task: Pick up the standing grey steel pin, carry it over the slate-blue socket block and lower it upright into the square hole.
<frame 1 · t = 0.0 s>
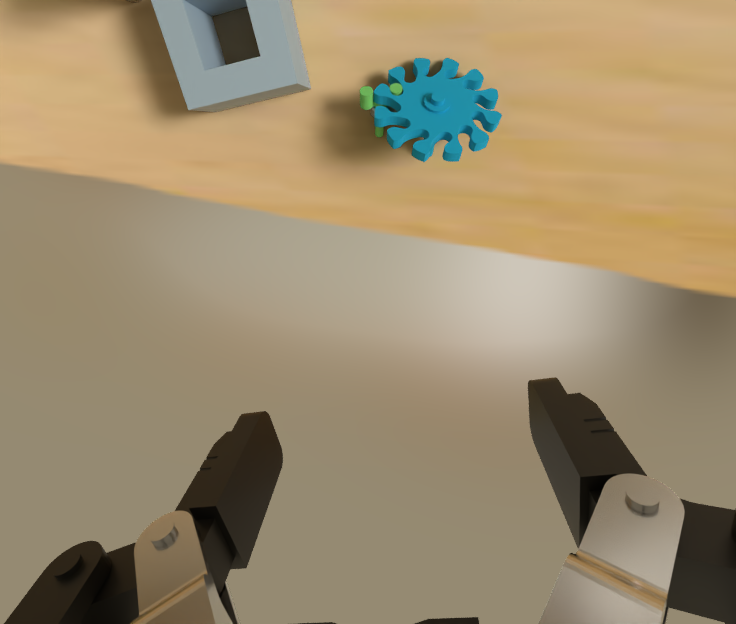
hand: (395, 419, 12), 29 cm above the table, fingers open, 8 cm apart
teal lobed toy: (426, 109, 35), on the table
socket block: (246, 41, 34), on the table
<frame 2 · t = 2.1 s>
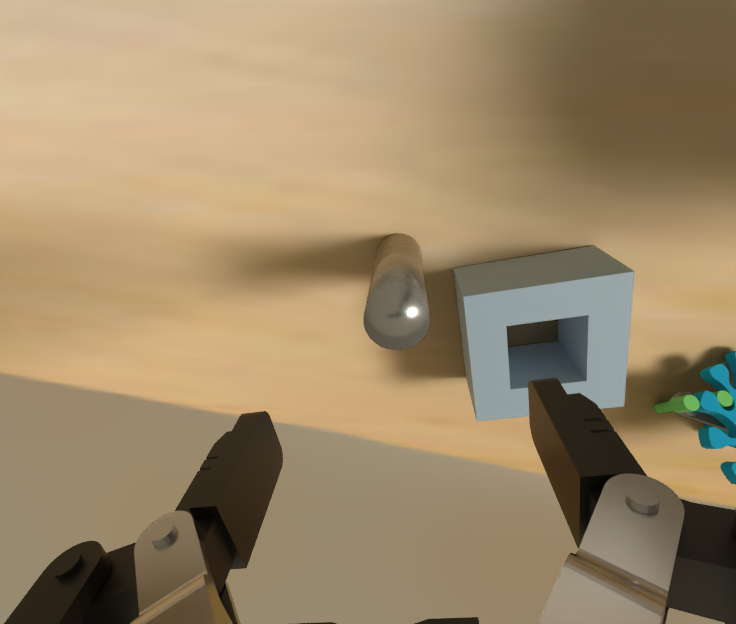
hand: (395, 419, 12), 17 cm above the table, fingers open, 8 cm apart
pin: (398, 255, 27), on the table
teal lobed toy: (720, 387, 30), on the table
socket block: (524, 317, 29), on the table
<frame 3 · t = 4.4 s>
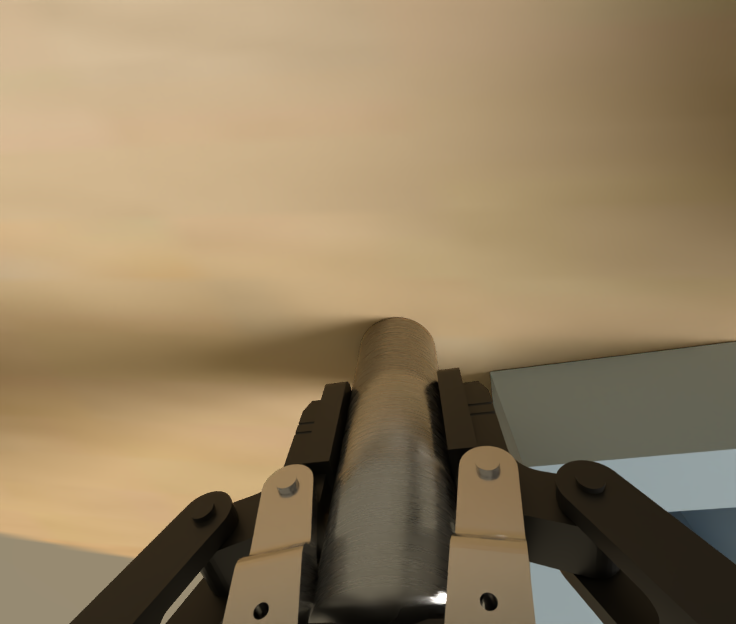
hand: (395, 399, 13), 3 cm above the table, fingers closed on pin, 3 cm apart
pin: (397, 351, 16), on the table, touching gripper
socket block: (605, 446, 17), on the table
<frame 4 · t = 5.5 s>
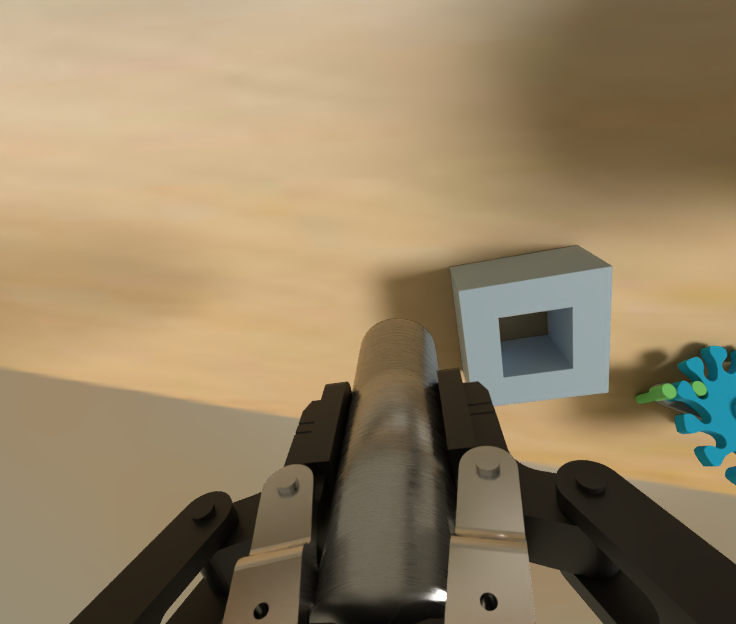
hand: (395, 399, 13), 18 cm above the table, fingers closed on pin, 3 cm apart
pin: (397, 352, 16), point 15 cm above the table, touching gripper
teal lobed toy: (696, 381, 32), on the table
socket block: (516, 312, 31), on the table
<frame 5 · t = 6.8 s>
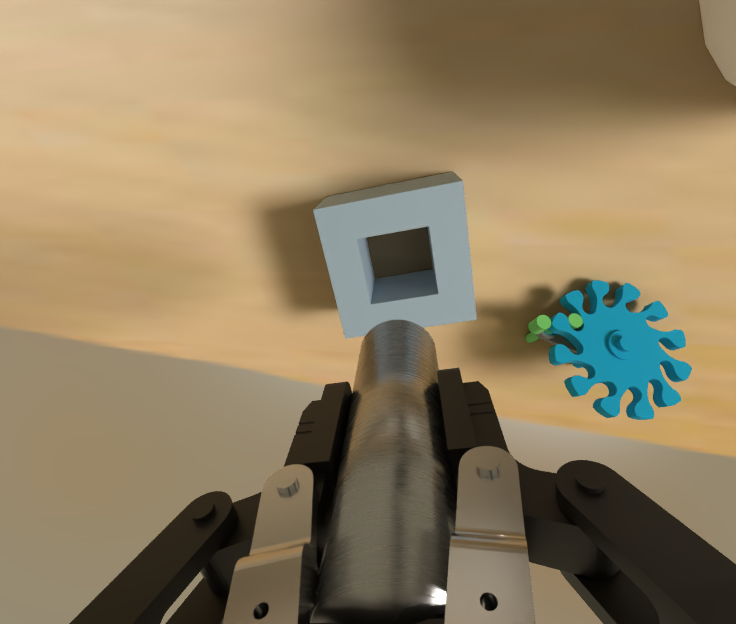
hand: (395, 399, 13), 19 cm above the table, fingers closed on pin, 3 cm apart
pin: (397, 353, 16), point 16 cm above the table, touching gripper
teal lobed toy: (586, 320, 32), on the table
socket block: (398, 245, 30), on the table
when the fingers open (6 cm above the table, at t = 8.8 s): pin drops 2 cm, resting in socket block.
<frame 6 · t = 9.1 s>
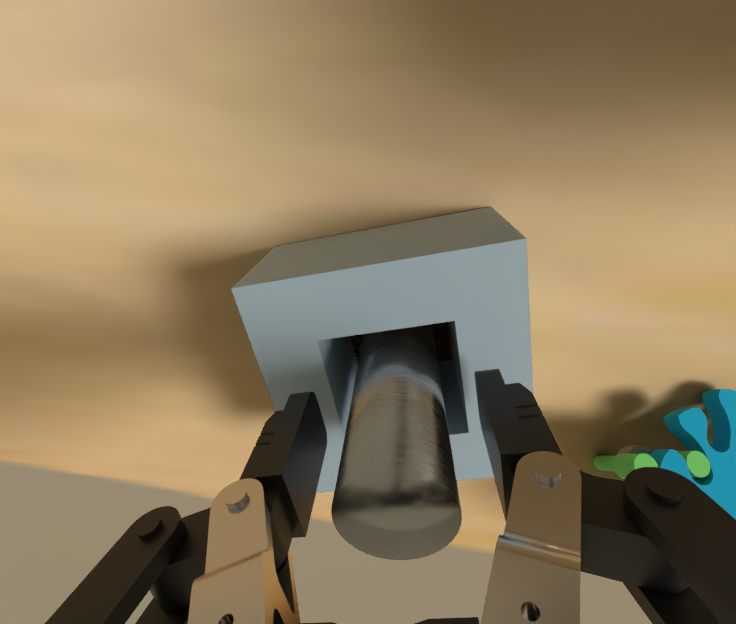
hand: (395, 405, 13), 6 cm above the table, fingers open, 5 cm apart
pin: (398, 325, 18), resting in socket block
teal lobed toy: (691, 440, 20), on the table
socket block: (397, 324, 18), on the table
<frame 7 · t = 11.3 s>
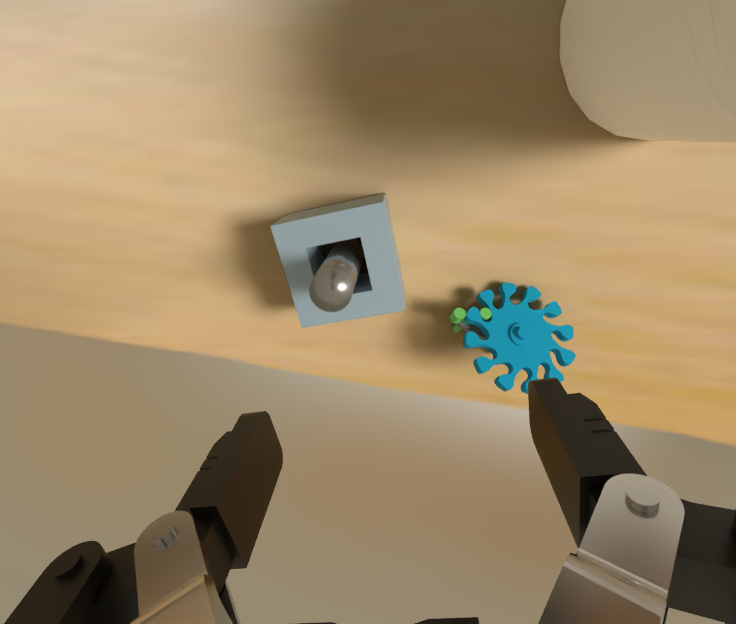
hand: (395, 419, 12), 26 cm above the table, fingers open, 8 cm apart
pin: (347, 253, 37), resting in socket block
teal lobed toy: (502, 316, 39), on the table
canister: (675, 17, 29), on the table
socket block: (347, 252, 37), on the table
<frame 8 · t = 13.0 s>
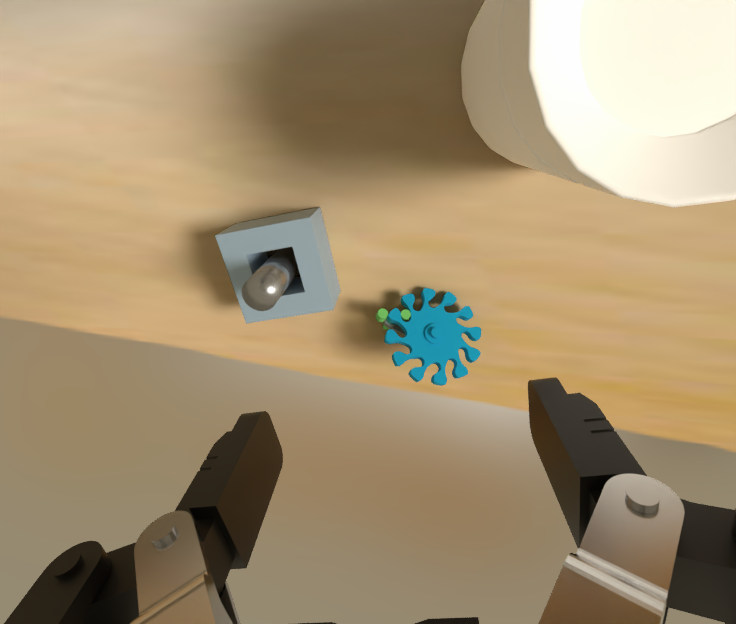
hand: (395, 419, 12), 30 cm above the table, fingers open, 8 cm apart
pin: (290, 258, 42), resting in socket block
teal lobed toy: (426, 316, 44), on the table
canister: (557, 66, 34), on the table
socket block: (289, 258, 42), on the table
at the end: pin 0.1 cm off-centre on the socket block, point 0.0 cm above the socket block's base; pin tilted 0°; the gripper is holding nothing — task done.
